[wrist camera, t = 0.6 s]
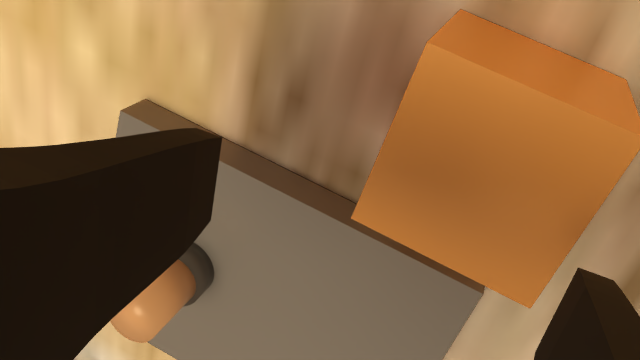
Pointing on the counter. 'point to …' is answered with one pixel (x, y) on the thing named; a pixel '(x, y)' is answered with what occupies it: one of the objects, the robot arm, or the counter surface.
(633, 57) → the counter surface
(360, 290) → the grey flat block
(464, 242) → the solid orange cube
